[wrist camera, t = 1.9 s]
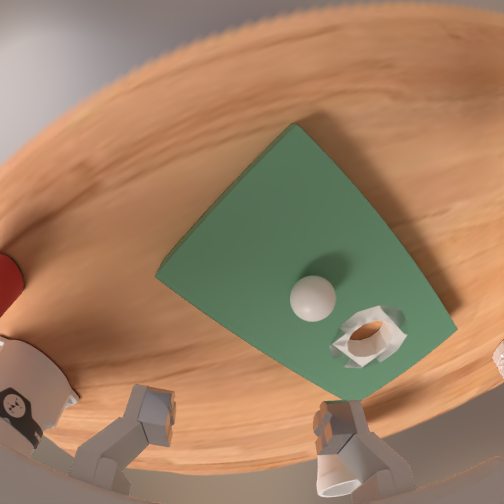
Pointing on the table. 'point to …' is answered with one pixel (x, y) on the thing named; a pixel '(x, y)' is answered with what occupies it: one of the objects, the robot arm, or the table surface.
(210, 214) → the green rectangular slab
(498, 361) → the white cup
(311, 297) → the ball
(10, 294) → the beer can
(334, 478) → the foam cup
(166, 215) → the table surface
